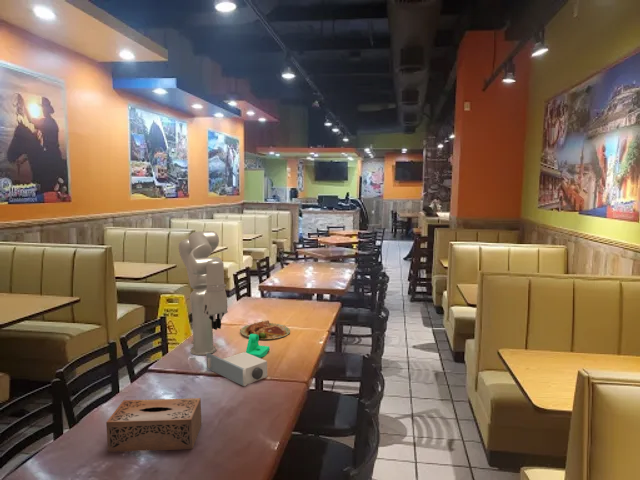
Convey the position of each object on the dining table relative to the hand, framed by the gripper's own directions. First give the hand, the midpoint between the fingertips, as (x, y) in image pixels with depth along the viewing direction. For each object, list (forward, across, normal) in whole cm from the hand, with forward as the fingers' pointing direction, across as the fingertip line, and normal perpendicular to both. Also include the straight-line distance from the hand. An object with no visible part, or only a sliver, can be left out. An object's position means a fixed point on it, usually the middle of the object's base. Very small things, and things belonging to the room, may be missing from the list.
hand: (216, 328), depth 202 cm
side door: (+19, +3, +10) cm, 21 cm away
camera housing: (+19, -4, +14) cm, 24 cm away
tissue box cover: (+20, +46, +33) cm, 60 cm away
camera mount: (+20, -24, -1) cm, 31 cm away
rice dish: (+20, -48, -25) cm, 58 cm away
